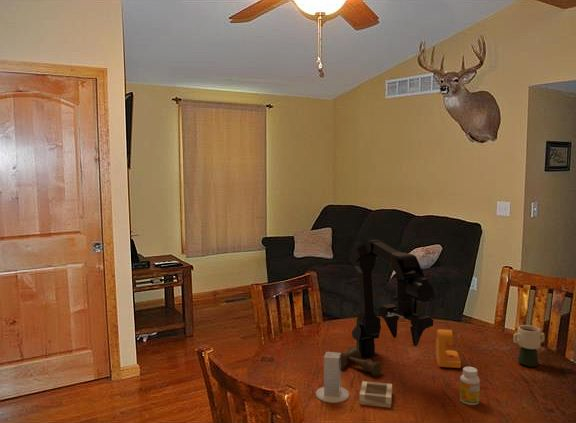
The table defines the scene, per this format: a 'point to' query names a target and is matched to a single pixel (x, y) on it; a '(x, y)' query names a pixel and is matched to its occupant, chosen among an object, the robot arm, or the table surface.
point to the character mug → (528, 344)
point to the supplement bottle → (469, 386)
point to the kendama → (360, 361)
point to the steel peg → (332, 374)
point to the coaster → (343, 397)
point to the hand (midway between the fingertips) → (405, 341)
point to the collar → (376, 394)
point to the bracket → (446, 356)
